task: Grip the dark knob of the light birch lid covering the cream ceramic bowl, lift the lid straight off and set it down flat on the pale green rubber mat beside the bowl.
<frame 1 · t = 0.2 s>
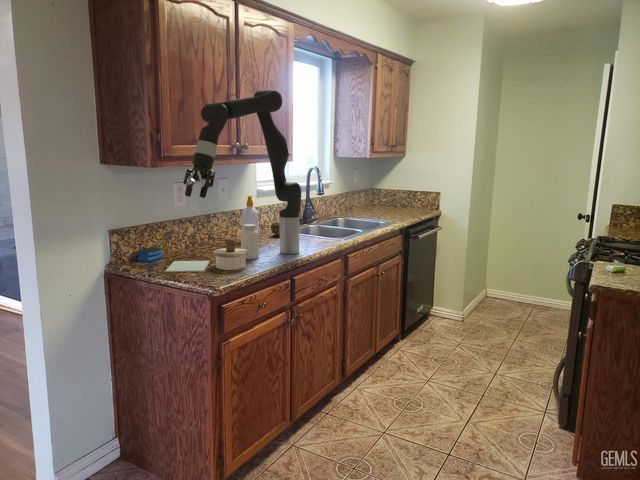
hand: (194, 196, 180), 31 cm above the counter, tool tilted 20°, fingers open, 8 cm apart
mat: (188, 266, 202), on the counter
potato: (278, 236, 274), on the counter
pill bottle: (250, 258, 219), on the counter
bowl: (231, 266, 203), on the counter, touching lid
lid: (230, 253, 202), point 5 cm above the counter, touching bowl
soap bottle: (250, 240, 259), on the counter
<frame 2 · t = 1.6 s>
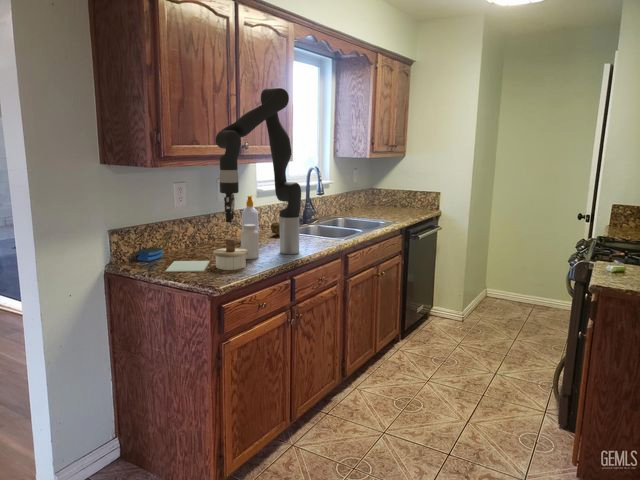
hand: (229, 220, 199), 19 cm above the counter, tool pointing down, fingers open, 8 cm apart
nothing on the counter moved.
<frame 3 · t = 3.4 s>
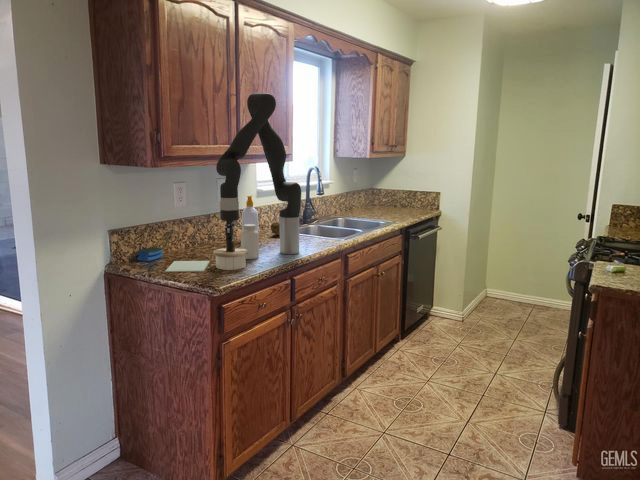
hand: (230, 249, 202), 7 cm above the counter, tool pointing down, fingers closed on lid, 3 cm apart
lid: (230, 253, 202), point 5 cm above the counter, touching bowl, gripper
everything else where it was.
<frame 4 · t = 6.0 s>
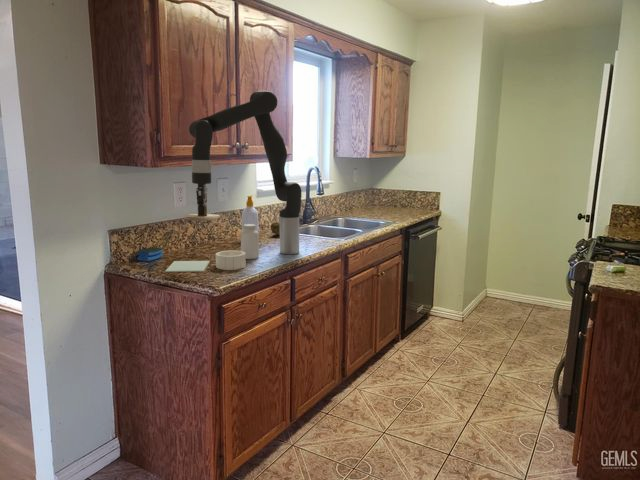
hand: (202, 214, 197), 22 cm above the counter, tool pointing down, fingers closed on lid, 3 cm apart
bowl: (231, 266, 203), on the counter
lid: (202, 218, 198), point 20 cm above the counter, touching gripper
everything else where it was.
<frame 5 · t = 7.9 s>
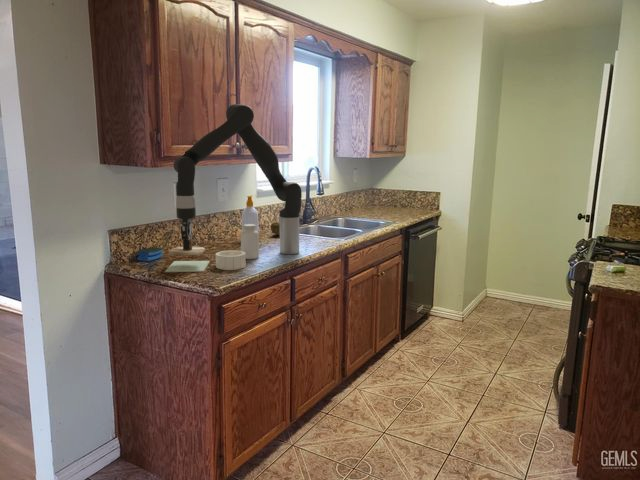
hand: (187, 247, 200), 8 cm above the counter, tool pointing down, fingers closed on lid, 3 cm apart
lid: (187, 251, 200), point 6 cm above the counter, touching gripper
everything else where it was.
when the fingers open (4 cm above the counter, at t = 9.1 s): lid drops 1 cm, resting on mat.
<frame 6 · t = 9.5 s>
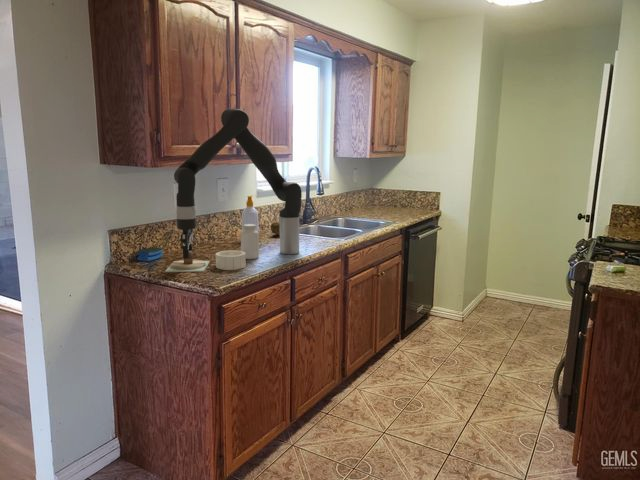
hand: (187, 256, 201), 4 cm above the counter, tool pointing down, fingers open, 7 cm apart
lid: (188, 265, 202), resting on mat
everything else where it was.
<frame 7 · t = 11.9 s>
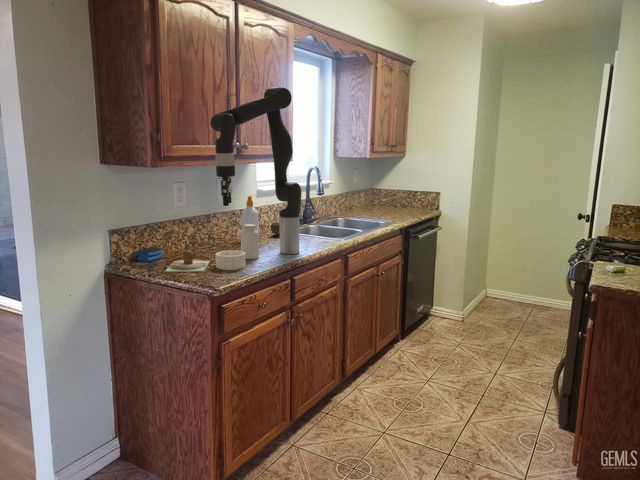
hand: (227, 204, 200), 26 cm above the counter, tool pointing down, fingers open, 8 cm apart
nothing on the counter moved.
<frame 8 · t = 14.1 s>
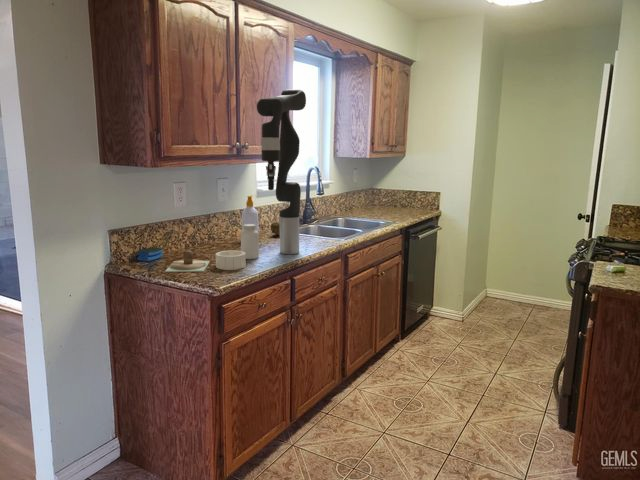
hand: (271, 189, 200), 32 cm above the counter, tool pointing down, fingers open, 8 cm apart
nothing on the counter moved.
at the end: lid inside the target area on the mat (0.0 cm from its centre), point 0.5 cm above the mat's base; lid touching mat; bowl moved 0.0 cm from its start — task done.
